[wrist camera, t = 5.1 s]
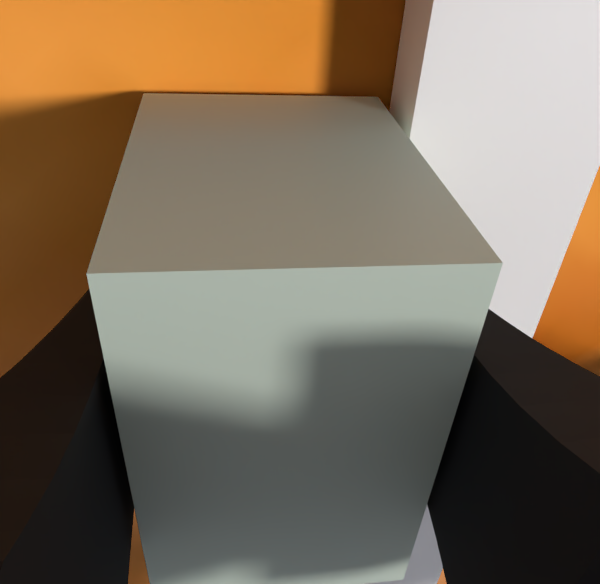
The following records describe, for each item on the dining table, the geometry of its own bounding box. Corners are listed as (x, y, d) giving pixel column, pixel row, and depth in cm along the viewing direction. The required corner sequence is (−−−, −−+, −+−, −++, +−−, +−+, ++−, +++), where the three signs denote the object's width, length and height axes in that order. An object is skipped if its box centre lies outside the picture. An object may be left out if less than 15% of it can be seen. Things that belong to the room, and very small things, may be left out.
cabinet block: (377, 97, 11) (502, 262, 6) (343, 358, 15) (403, 579, 10) (143, 93, 11) (86, 273, 6) (173, 366, 15) (154, 605, 10)
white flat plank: (708, -295, 8) (789, -324, 7) (403, 606, 25) (413, 643, 24) (454, -327, 8) (496, -363, 7) (313, 616, 24) (319, 654, 23)
